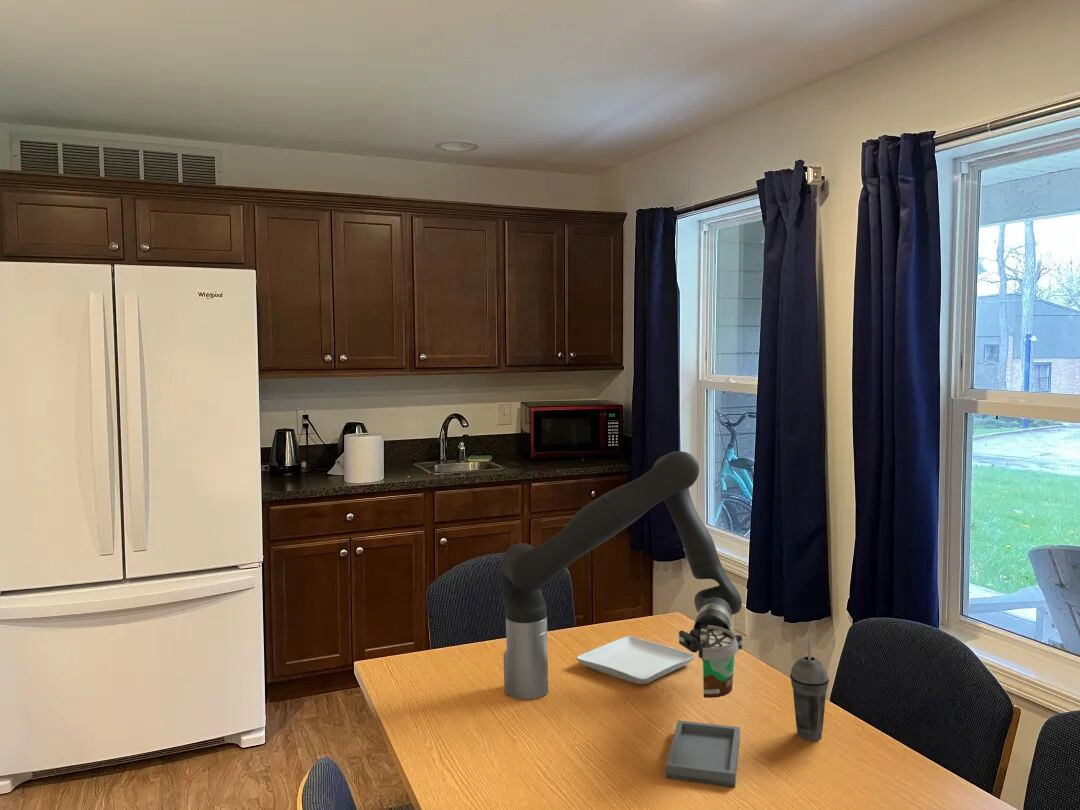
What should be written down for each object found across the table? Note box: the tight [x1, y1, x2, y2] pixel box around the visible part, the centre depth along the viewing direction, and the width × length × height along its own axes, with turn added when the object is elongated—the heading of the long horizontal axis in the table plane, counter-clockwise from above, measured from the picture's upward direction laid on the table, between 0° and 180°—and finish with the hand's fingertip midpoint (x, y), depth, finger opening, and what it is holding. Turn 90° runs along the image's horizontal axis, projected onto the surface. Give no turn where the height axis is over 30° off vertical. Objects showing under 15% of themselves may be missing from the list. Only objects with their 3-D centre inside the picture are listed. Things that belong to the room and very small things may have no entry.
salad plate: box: [576, 635, 696, 685], centre depth 192 cm, size 21×21×3 cm
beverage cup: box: [789, 636, 830, 742], centre depth 155 cm, size 7×7×20 cm
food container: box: [702, 625, 739, 699], centre depth 151 cm, size 12×6×10 cm, turn 164°
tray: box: [665, 720, 741, 788], centre depth 148 cm, size 12×18×2 cm, turn 163°
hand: (706, 656), depth 152 cm, fingers closed on food container, 1 cm apart
